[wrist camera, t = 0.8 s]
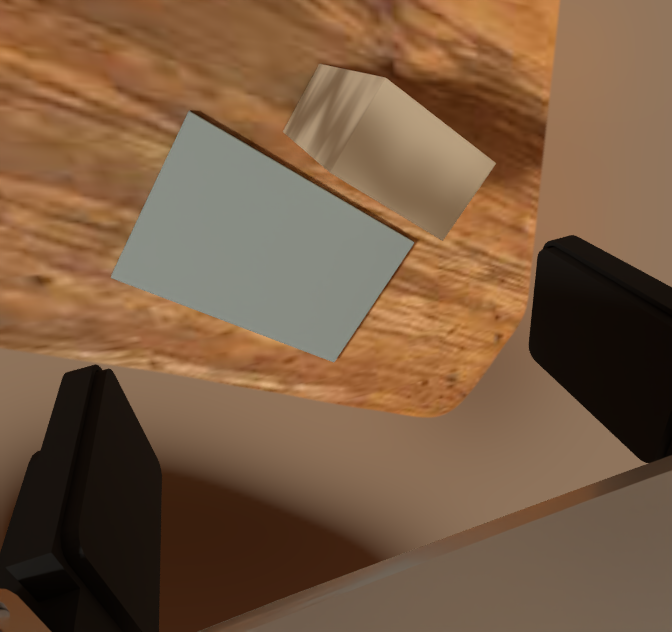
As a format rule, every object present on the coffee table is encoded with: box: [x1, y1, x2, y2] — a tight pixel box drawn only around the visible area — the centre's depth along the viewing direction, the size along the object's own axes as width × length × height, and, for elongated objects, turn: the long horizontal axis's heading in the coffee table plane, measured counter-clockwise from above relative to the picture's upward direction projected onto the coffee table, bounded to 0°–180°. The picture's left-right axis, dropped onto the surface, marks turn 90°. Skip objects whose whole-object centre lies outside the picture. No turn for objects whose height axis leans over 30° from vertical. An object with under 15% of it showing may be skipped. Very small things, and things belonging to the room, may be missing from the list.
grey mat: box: [111, 111, 414, 362], centre depth 38 cm, size 13×20×1 cm, turn 57°
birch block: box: [283, 64, 496, 241], centre depth 31 cm, size 5×8×12 cm, turn 57°
